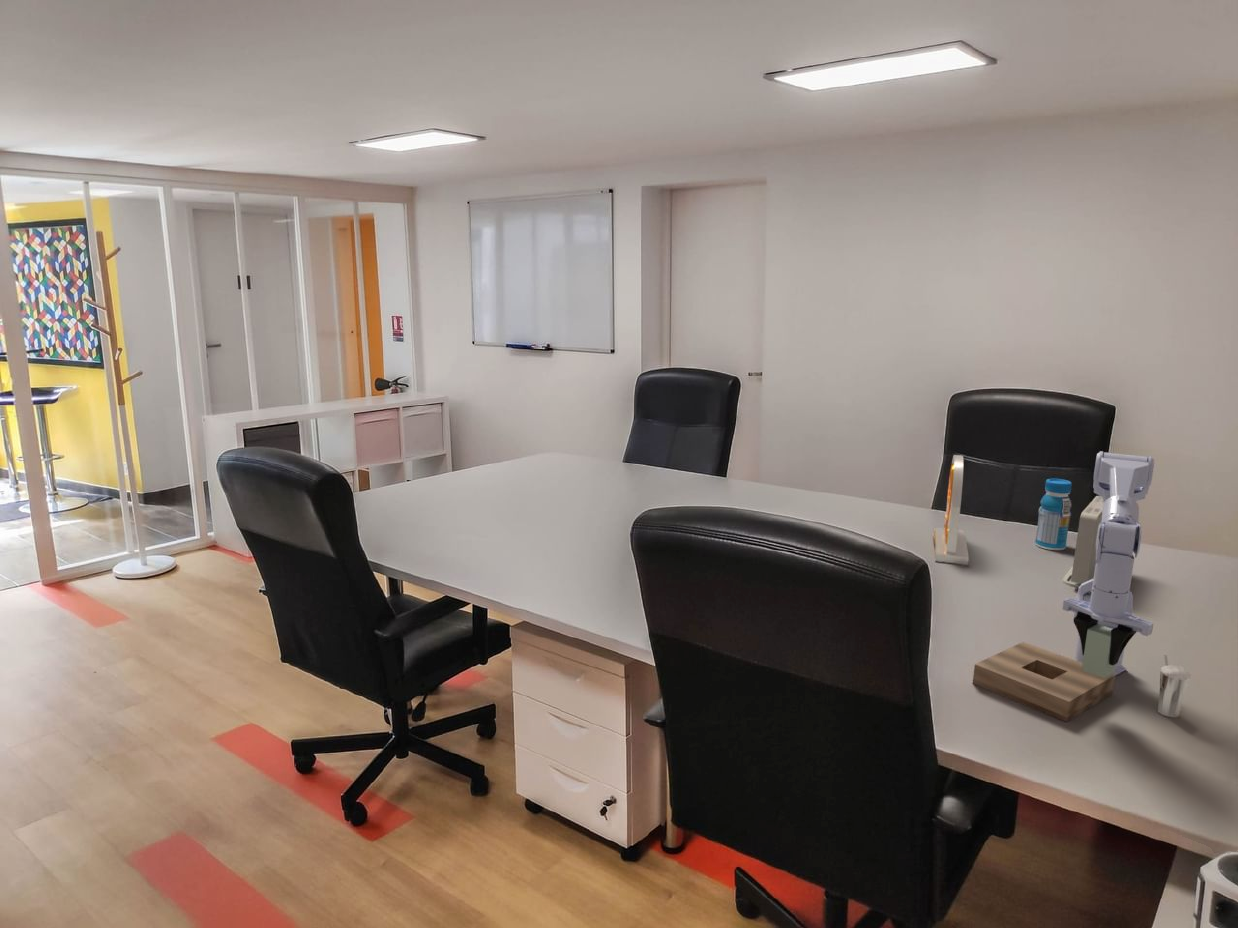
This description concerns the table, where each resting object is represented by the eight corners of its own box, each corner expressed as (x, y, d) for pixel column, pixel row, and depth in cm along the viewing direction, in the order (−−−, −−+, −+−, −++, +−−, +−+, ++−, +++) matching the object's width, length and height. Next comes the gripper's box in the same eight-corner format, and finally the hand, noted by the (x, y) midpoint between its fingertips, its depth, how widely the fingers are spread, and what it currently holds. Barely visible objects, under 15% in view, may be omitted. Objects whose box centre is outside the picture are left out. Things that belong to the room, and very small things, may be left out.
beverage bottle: (1036, 549, 249) (1045, 482, 245) (1032, 541, 257) (1040, 476, 252) (1068, 552, 247) (1078, 485, 242) (1063, 544, 254) (1072, 479, 250)
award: (932, 533, 262) (941, 445, 256) (963, 537, 260) (973, 448, 254) (933, 561, 237) (943, 464, 231) (967, 565, 234) (978, 467, 228)
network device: (1096, 595, 213) (1107, 518, 209) (1057, 587, 218) (1068, 512, 214) (1111, 569, 233) (1122, 498, 229) (1076, 562, 238) (1086, 493, 234)
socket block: (1020, 659, 176) (1023, 641, 175) (1112, 694, 162) (1115, 674, 161) (972, 683, 165) (974, 664, 165) (1066, 722, 151) (1069, 701, 151)
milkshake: (1168, 704, 158) (1177, 655, 156) (1188, 719, 153) (1198, 668, 151) (1145, 704, 158) (1153, 654, 156) (1164, 719, 153) (1173, 668, 151)
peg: (1091, 664, 158) (1097, 623, 156) (1114, 672, 154) (1121, 631, 153) (1081, 670, 155) (1087, 629, 153) (1104, 678, 152) (1111, 636, 150)
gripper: (1058, 580, 155) (1049, 650, 158) (1145, 605, 143) (1133, 679, 146) (1077, 573, 159) (1067, 640, 162) (1162, 596, 148) (1150, 669, 151)
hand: (1099, 658), depth 154 cm, fingers closed on peg, 4 cm apart
